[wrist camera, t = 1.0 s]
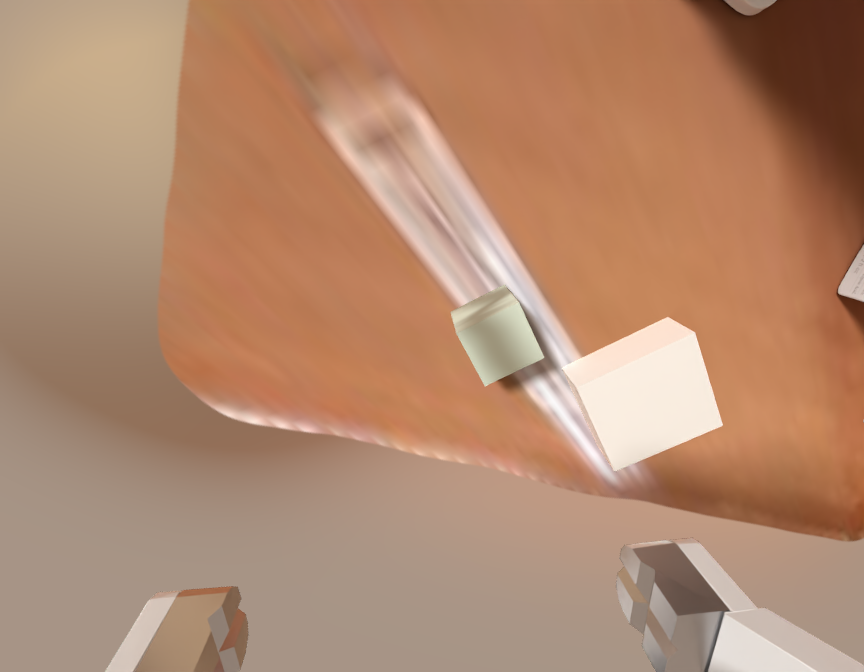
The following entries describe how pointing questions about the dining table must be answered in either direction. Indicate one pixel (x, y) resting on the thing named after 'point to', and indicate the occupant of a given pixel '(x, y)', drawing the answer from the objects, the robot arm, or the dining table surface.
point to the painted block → (644, 393)
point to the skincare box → (854, 279)
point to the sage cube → (496, 335)
